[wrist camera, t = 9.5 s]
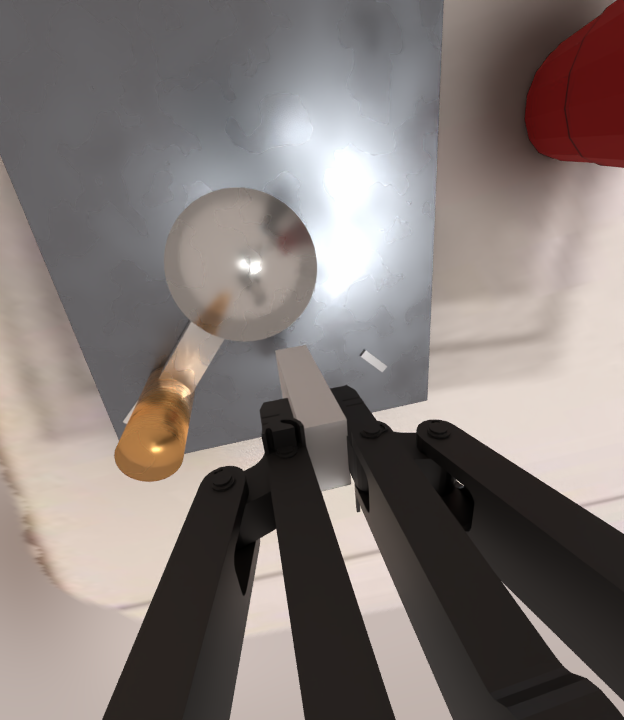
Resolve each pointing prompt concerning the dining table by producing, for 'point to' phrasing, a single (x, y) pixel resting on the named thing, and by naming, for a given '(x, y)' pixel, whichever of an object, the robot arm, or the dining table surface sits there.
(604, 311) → the dining table surface
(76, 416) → the dining table surface
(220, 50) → the panel
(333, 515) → the dining table surface
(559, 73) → the plastic cup
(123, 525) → the dining table surface
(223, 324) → the metal measuring spoon
